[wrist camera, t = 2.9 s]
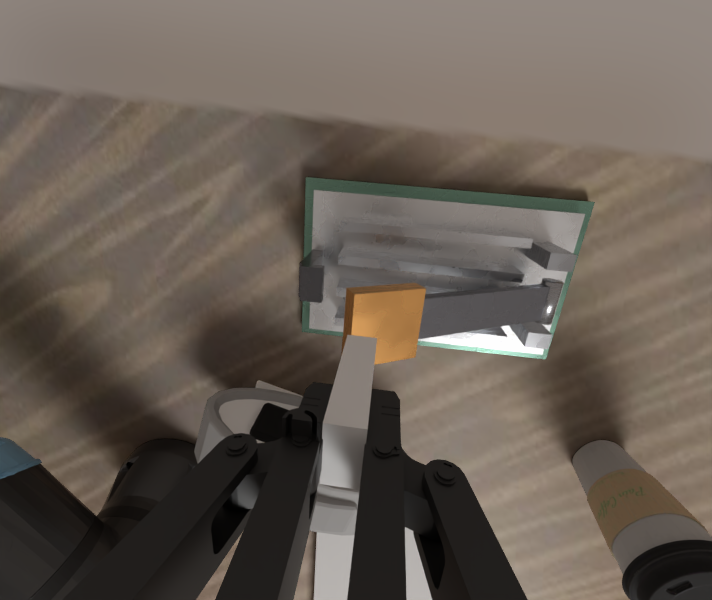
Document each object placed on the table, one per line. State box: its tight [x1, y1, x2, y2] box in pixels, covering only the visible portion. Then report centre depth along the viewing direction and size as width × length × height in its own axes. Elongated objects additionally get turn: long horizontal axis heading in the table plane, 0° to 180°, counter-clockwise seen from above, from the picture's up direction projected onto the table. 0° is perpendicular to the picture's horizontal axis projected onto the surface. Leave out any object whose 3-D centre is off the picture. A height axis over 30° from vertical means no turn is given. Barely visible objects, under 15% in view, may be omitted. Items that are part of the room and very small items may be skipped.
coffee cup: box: [572, 440, 712, 600], centre depth 35 cm, size 9×9×15 cm
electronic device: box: [314, 527, 432, 600], centre depth 52 cm, size 29×20×2 cm
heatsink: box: [299, 177, 595, 359], centre depth 32 cm, size 26×16×8 cm, turn 86°
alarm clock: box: [194, 380, 408, 536], centre depth 38 cm, size 23×6×13 cm, turn 70°
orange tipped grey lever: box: [342, 278, 564, 365], centre depth 26 cm, size 19×5×2 cm, turn 85°
